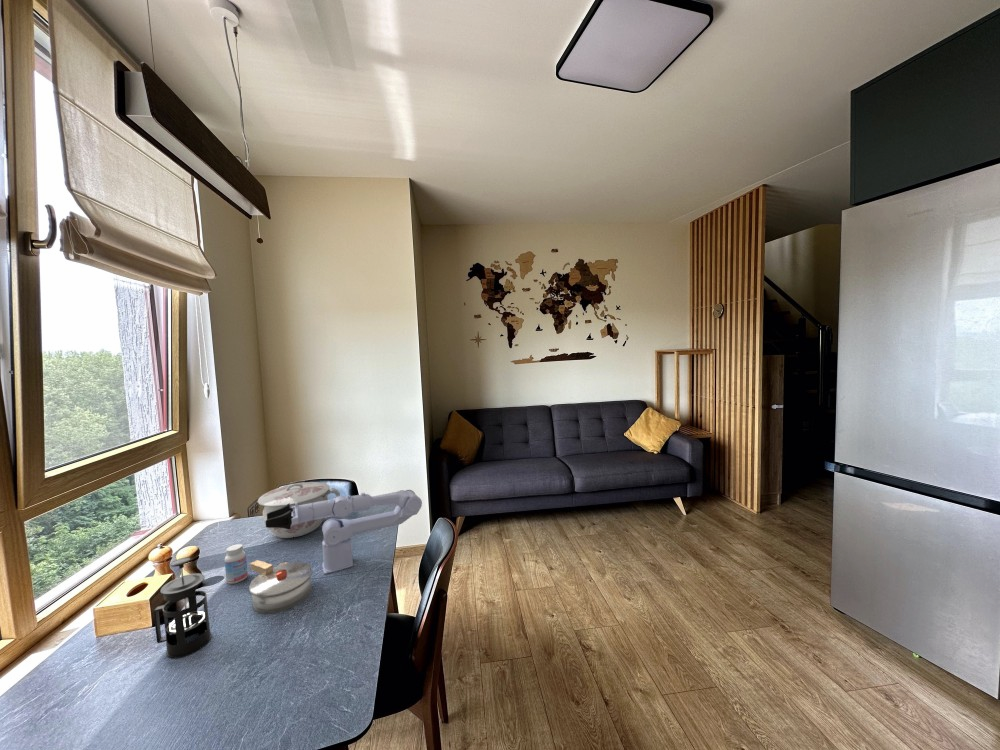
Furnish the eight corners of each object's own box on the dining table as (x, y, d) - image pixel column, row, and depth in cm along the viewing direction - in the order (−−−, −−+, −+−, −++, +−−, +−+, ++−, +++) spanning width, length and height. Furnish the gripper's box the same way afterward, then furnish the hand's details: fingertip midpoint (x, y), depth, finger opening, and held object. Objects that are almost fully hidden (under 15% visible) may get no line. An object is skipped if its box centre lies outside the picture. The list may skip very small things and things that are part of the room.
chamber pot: (245, 541, 161) (240, 492, 160) (302, 514, 186) (298, 471, 185) (294, 551, 150) (289, 499, 149) (347, 521, 176) (343, 476, 174)
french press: (219, 627, 109) (211, 547, 108) (207, 650, 100) (198, 564, 99) (167, 639, 105) (158, 557, 104) (150, 665, 96) (140, 575, 95)
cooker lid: (323, 571, 125) (323, 562, 125) (272, 603, 110) (271, 593, 110) (279, 557, 135) (278, 549, 135) (226, 585, 120) (225, 575, 120)
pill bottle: (237, 585, 129) (234, 552, 129) (222, 583, 131) (218, 551, 130) (252, 574, 135) (249, 543, 135) (237, 573, 137) (234, 542, 136)
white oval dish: (309, 567, 138) (308, 553, 138) (312, 601, 119) (311, 585, 118) (256, 581, 131) (255, 567, 131) (250, 621, 111) (249, 604, 111)
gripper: (310, 494, 141) (266, 502, 134) (312, 505, 128) (264, 514, 121) (311, 514, 141) (268, 522, 134) (314, 527, 128) (265, 537, 121)
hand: (266, 520), depth 128 cm, fingers open, 7 cm apart
